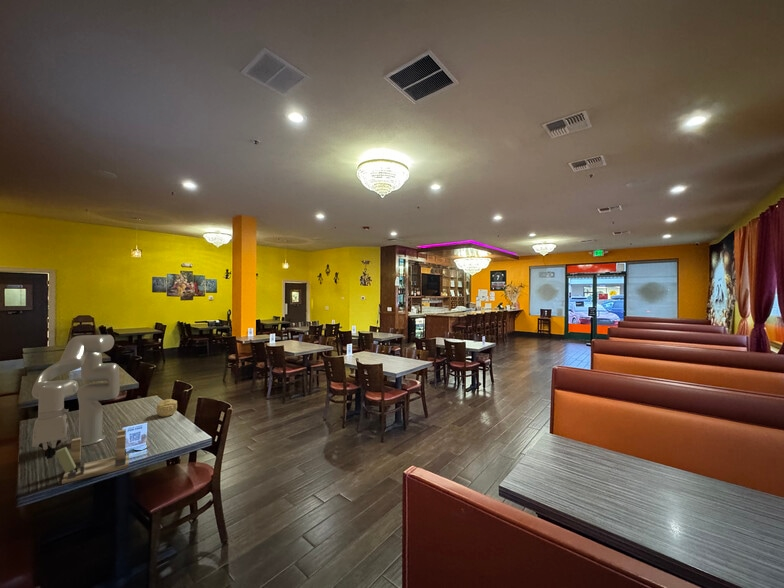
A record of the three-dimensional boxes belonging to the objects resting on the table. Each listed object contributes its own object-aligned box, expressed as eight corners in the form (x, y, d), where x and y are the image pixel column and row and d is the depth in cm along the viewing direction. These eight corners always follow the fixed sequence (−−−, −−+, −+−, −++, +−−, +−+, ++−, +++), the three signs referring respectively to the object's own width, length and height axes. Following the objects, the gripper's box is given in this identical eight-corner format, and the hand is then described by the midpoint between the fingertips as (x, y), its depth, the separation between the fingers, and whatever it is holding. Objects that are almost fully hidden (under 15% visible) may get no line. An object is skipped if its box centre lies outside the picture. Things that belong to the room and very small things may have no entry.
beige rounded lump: (157, 419, 209) (157, 403, 210) (155, 414, 218) (155, 398, 219) (178, 415, 217) (178, 399, 217) (175, 410, 226) (175, 395, 226)
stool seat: (67, 470, 148) (68, 438, 148) (129, 456, 161) (129, 427, 162) (61, 484, 137) (62, 450, 137) (128, 467, 150) (129, 436, 151)
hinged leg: (69, 474, 142) (57, 450, 139) (78, 470, 144) (66, 446, 141) (68, 478, 139) (55, 453, 136) (77, 474, 140) (64, 449, 138)
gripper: (76, 408, 145) (75, 449, 144) (27, 415, 135) (26, 459, 135) (74, 412, 139) (73, 455, 138) (22, 420, 129) (21, 466, 129)
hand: (50, 457), depth 137 cm, fingers closed
